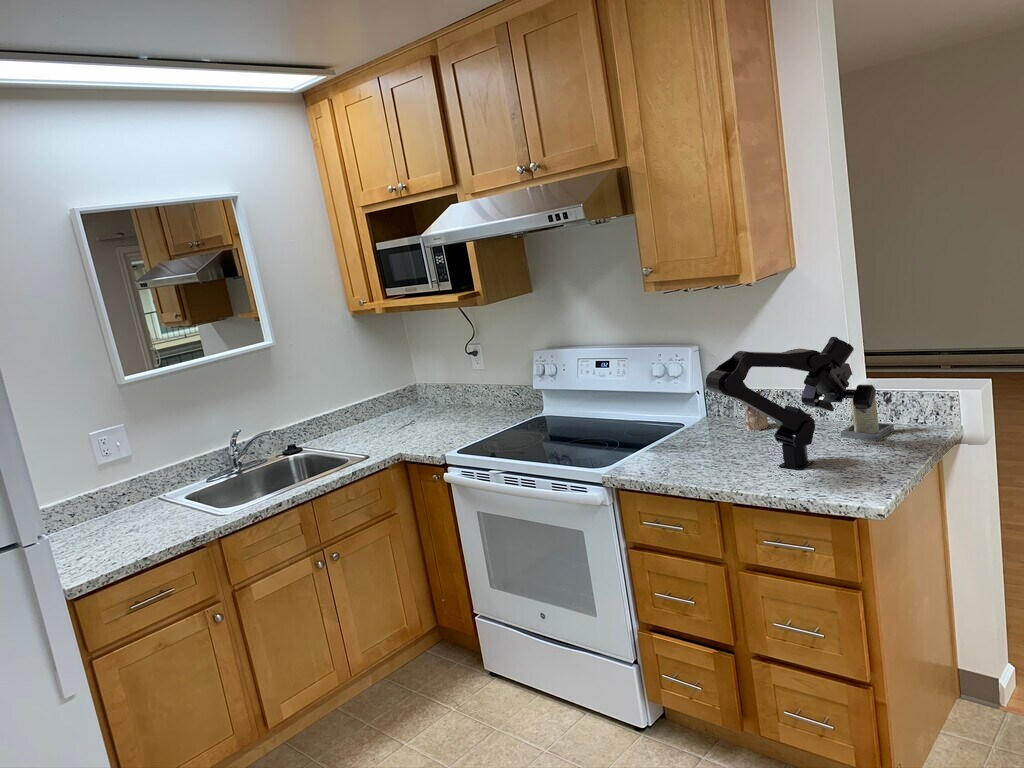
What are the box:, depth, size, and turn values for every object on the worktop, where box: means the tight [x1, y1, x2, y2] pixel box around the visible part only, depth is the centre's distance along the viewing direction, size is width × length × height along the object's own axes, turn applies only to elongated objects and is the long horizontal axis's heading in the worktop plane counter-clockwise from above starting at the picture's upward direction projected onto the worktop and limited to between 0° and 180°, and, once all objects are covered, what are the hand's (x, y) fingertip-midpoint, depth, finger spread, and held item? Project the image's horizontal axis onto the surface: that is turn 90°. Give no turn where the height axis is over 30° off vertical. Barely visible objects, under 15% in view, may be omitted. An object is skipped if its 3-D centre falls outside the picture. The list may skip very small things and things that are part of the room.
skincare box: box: [850, 395, 879, 433], centre depth 216 cm, size 6×4×12 cm
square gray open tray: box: [840, 422, 895, 441], centre depth 217 cm, size 10×10×2 cm
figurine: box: [743, 390, 769, 432], centre depth 241 cm, size 7×7×12 cm
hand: (849, 410), depth 211 cm, fingers open, 9 cm apart
